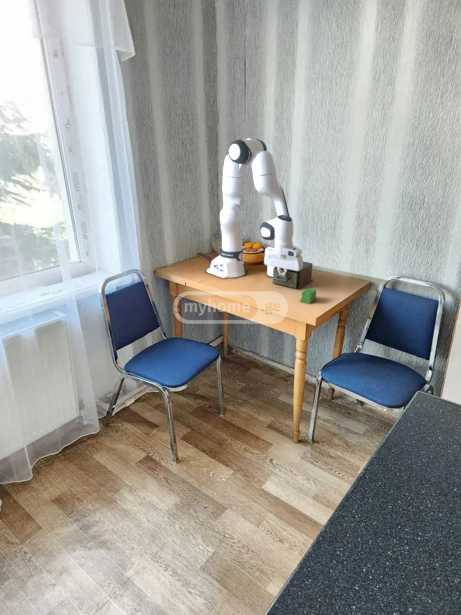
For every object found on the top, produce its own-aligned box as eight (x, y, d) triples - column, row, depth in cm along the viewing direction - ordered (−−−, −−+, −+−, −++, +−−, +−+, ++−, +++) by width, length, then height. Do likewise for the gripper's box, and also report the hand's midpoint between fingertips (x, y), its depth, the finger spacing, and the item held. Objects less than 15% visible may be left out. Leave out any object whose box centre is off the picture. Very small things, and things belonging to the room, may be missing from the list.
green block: (310, 303, 185) (310, 293, 183) (301, 301, 188) (302, 291, 186) (315, 299, 190) (316, 289, 188) (307, 297, 192) (307, 287, 190)
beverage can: (281, 278, 217) (282, 257, 212) (266, 277, 218) (267, 256, 213) (282, 273, 224) (283, 252, 219) (268, 272, 225) (268, 251, 220)
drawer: (291, 291, 197) (292, 276, 194) (268, 285, 204) (268, 271, 201) (307, 280, 211) (308, 266, 207) (285, 275, 218) (286, 261, 215)
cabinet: (298, 288, 202) (299, 270, 198) (273, 282, 210) (274, 265, 206) (311, 280, 213) (312, 263, 209) (287, 275, 221) (288, 258, 217)
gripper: (261, 247, 197) (261, 274, 203) (299, 254, 186) (297, 281, 192) (268, 244, 202) (267, 270, 208) (305, 250, 191) (303, 277, 197)
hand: (282, 275), depth 200 cm, fingers closed
